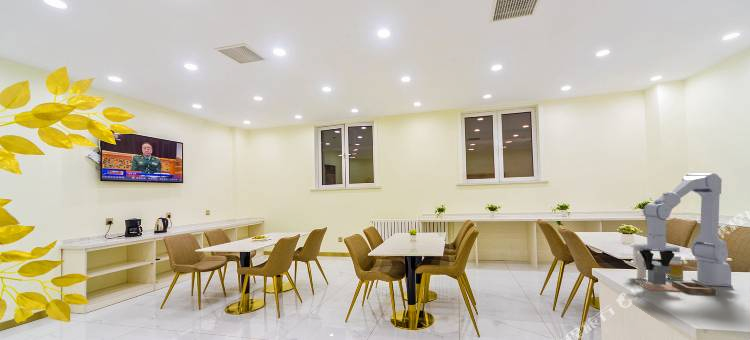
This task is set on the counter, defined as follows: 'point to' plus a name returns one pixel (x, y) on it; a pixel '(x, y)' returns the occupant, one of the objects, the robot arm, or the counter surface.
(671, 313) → the counter surface
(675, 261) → the supplement bottle
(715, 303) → the counter surface
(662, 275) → the dark grey block
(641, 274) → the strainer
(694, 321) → the counter surface
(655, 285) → the terracotta coaster
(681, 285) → the walnut holder
